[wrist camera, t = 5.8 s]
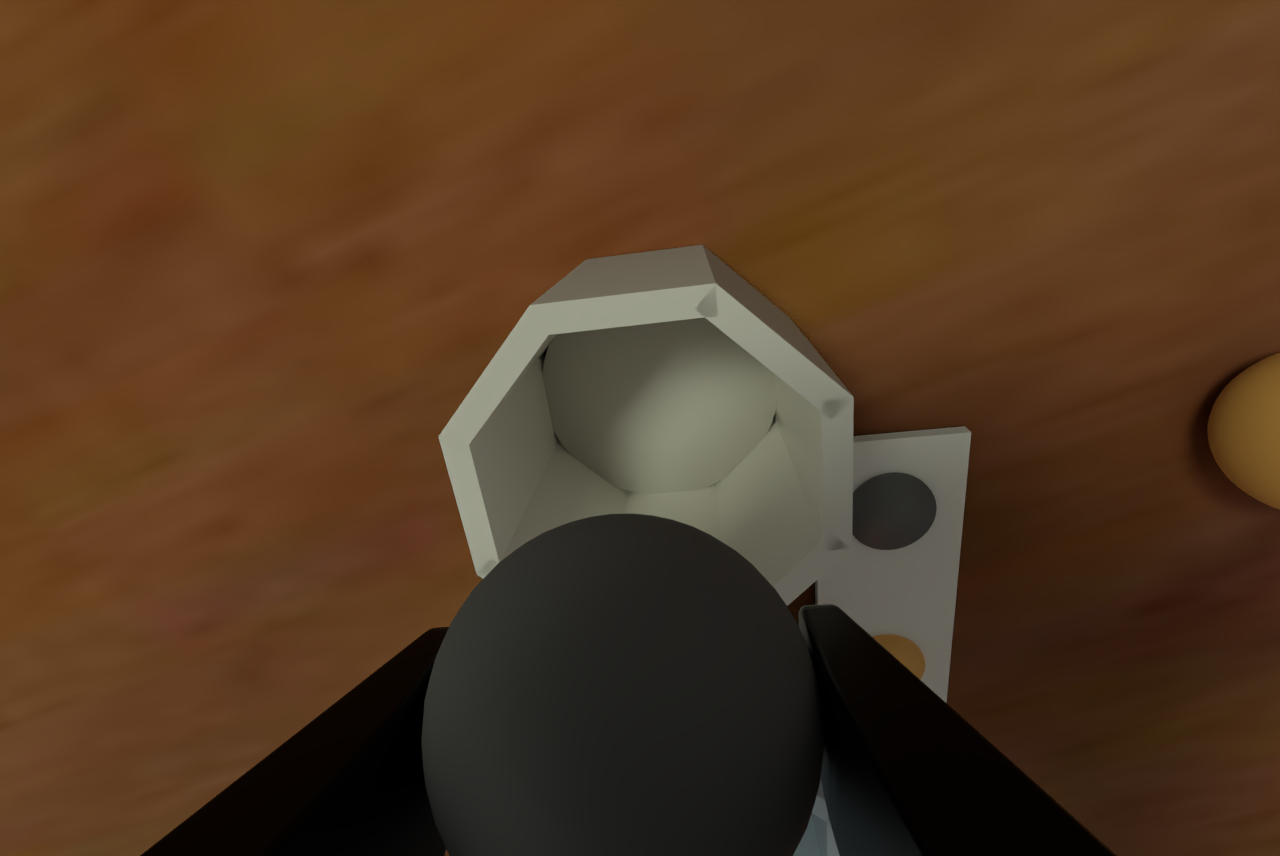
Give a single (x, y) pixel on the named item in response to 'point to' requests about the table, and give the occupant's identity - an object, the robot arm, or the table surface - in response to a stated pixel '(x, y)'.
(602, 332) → the cream cup
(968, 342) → the table surface
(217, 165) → the table surface
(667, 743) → the black ball
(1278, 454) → the orange ball
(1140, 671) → the table surface
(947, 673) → the card
